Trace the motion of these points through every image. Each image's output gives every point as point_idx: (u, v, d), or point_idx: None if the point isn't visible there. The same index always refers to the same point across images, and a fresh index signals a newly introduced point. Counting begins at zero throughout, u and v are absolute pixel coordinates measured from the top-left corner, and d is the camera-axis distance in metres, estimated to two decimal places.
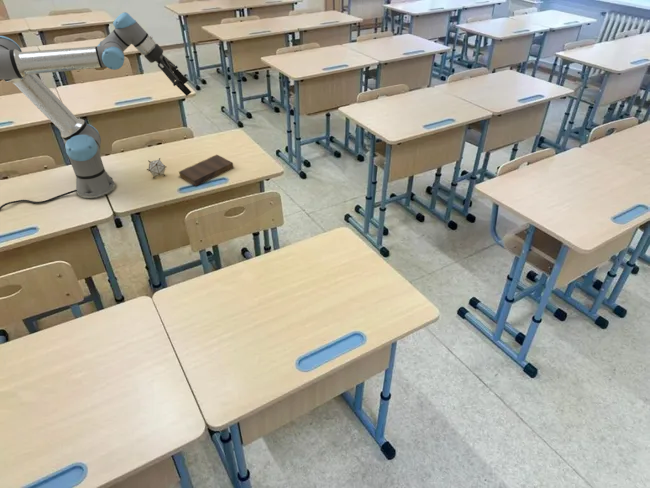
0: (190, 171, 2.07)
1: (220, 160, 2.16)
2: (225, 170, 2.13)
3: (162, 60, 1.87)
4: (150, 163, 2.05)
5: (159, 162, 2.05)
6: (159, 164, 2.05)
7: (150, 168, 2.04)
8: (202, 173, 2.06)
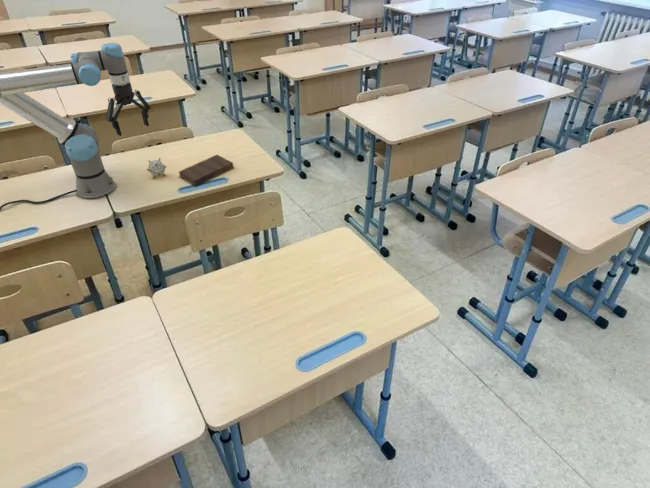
0: (190, 171, 2.07)
1: (220, 160, 2.16)
2: (225, 170, 2.13)
3: (119, 98, 1.92)
4: (150, 163, 2.05)
5: (159, 162, 2.05)
6: (159, 164, 2.05)
7: (150, 168, 2.04)
8: (202, 173, 2.06)
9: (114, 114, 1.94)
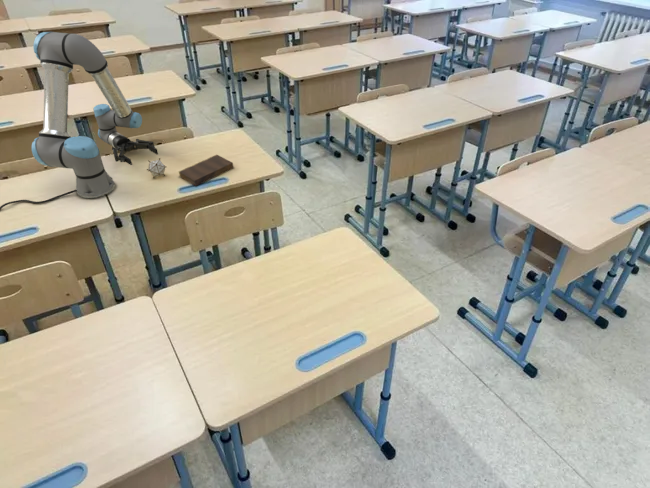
0: (190, 171, 2.07)
1: (220, 160, 2.16)
2: (225, 170, 2.13)
3: None
4: (150, 163, 2.05)
5: (159, 162, 2.05)
6: (159, 164, 2.05)
7: (150, 168, 2.04)
8: (202, 173, 2.06)
9: None
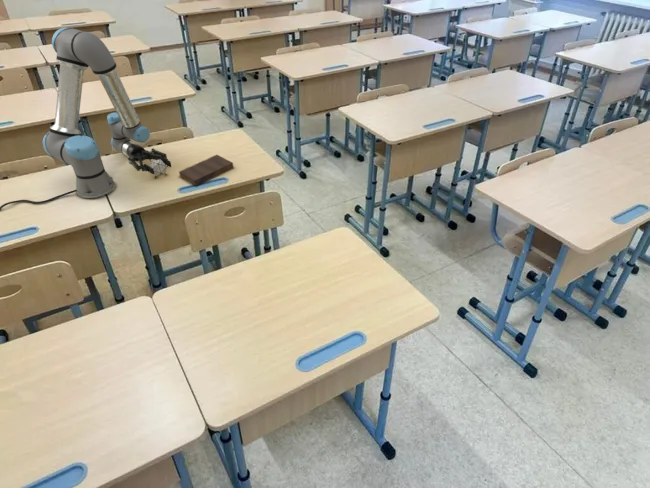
0: (190, 171, 2.07)
1: (220, 160, 2.16)
2: (225, 170, 2.13)
3: None
4: (152, 163, 2.05)
5: (160, 161, 2.06)
6: (161, 163, 2.05)
7: None
8: (202, 173, 2.06)
9: None
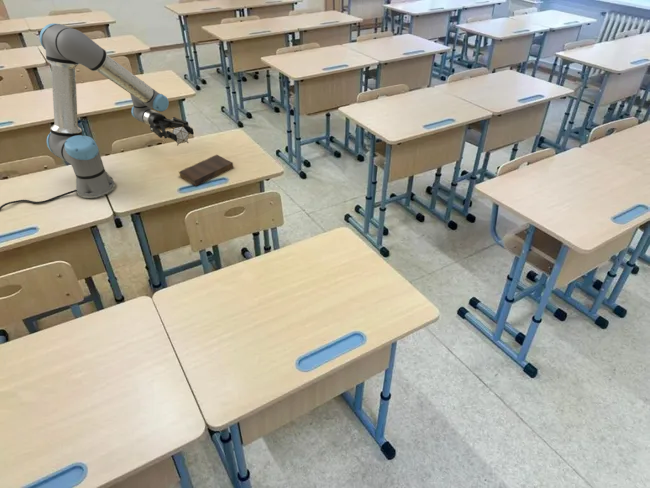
0: (190, 171, 2.07)
1: (220, 160, 2.16)
2: (225, 170, 2.13)
3: None
4: (174, 130, 2.04)
5: (183, 129, 2.05)
6: (183, 130, 2.04)
7: None
8: (202, 173, 2.06)
9: None
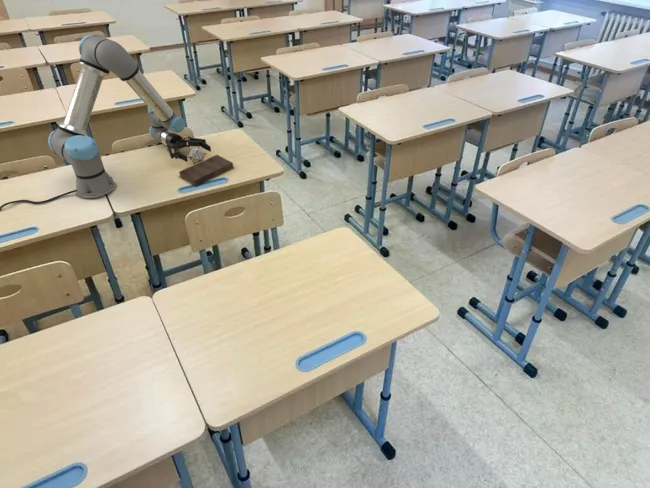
0: (190, 171, 2.07)
1: (220, 160, 2.16)
2: (225, 170, 2.13)
3: None
4: (191, 150, 2.14)
5: (199, 149, 2.16)
6: (199, 151, 2.15)
7: (191, 155, 2.14)
8: (202, 173, 2.06)
9: None
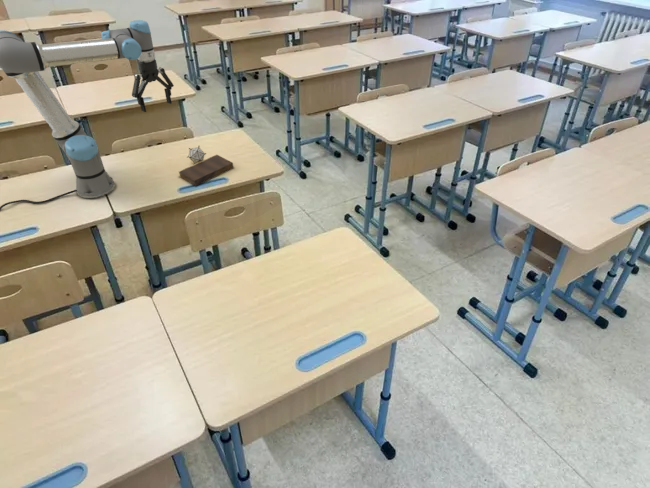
0: (190, 171, 2.07)
1: (220, 160, 2.16)
2: (225, 170, 2.13)
3: (144, 74, 1.98)
4: (191, 150, 2.14)
5: (199, 149, 2.16)
6: (199, 151, 2.15)
7: (191, 155, 2.14)
8: (202, 173, 2.06)
9: (139, 90, 2.00)
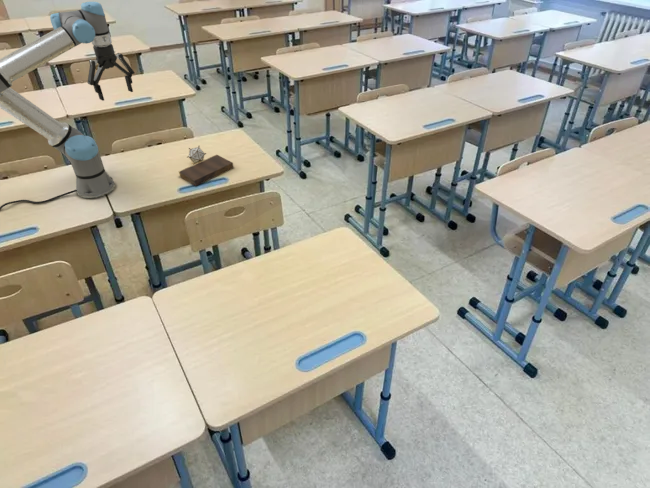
0: (190, 171, 2.07)
1: (220, 160, 2.16)
2: (225, 170, 2.13)
3: (100, 60, 1.86)
4: (191, 150, 2.14)
5: (199, 149, 2.16)
6: (199, 151, 2.15)
7: (191, 155, 2.14)
8: (202, 173, 2.06)
9: (96, 77, 1.89)
